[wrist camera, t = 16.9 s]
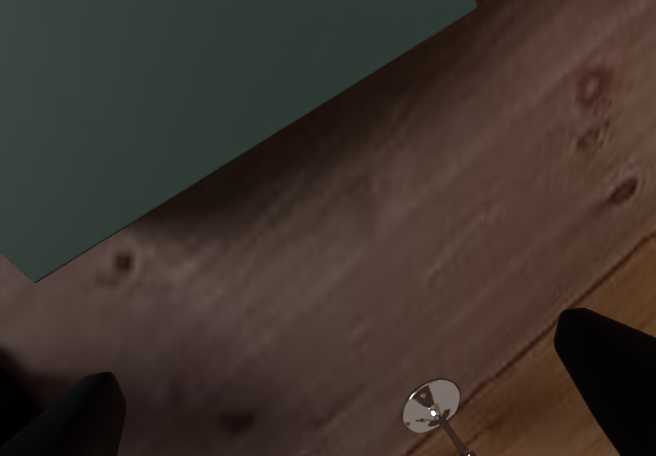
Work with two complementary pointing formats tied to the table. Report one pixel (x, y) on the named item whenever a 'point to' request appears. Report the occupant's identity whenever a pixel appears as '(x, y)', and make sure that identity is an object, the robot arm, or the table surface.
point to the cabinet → (165, 99)
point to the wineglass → (434, 410)
